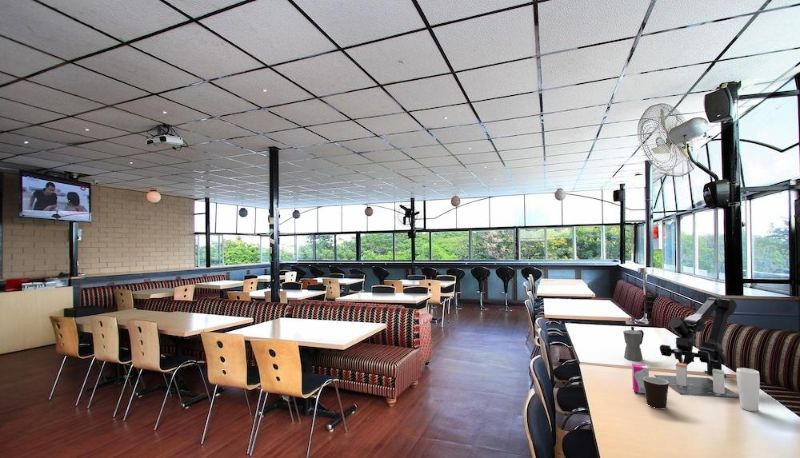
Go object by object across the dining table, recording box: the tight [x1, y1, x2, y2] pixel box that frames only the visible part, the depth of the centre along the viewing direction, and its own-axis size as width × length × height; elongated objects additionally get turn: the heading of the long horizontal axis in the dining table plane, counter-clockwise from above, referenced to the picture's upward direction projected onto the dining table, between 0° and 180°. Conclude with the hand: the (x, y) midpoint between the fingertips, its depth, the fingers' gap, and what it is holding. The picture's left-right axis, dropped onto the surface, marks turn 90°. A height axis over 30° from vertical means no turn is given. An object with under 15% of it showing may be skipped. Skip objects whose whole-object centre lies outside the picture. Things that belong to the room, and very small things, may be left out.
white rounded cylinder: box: [736, 367, 761, 413], centre depth 152 cm, size 7×7×15 cm
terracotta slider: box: [675, 361, 688, 386], centre depth 176 cm, size 3×4×9 cm
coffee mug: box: [643, 376, 669, 409], centre depth 156 cm, size 12×9×10 cm
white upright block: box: [712, 369, 726, 394], centre depth 167 cm, size 3×4×9 cm
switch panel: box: [653, 374, 740, 399], centre depth 176 cm, size 24×24×1 cm
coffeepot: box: [622, 326, 645, 362], centre depth 219 cm, size 15×9×18 cm, turn 113°
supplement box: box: [631, 363, 650, 395], centre depth 170 cm, size 6×6×12 cm
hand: (682, 369), depth 178 cm, fingers closed, pressing on terracotta slider
